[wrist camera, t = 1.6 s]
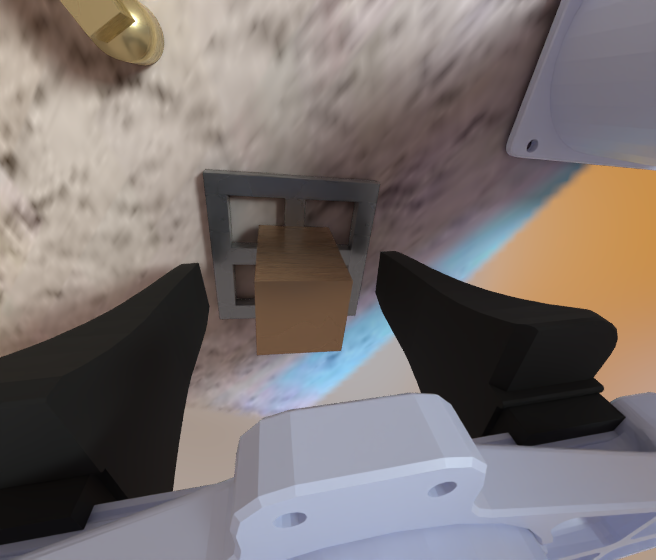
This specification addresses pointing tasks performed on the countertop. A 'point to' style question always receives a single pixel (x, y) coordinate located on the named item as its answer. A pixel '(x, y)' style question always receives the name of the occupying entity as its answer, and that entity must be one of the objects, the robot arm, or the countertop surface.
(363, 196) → the grey window frame
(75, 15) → the brass bent rod
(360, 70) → the countertop surface
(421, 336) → the robot arm
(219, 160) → the countertop surface
